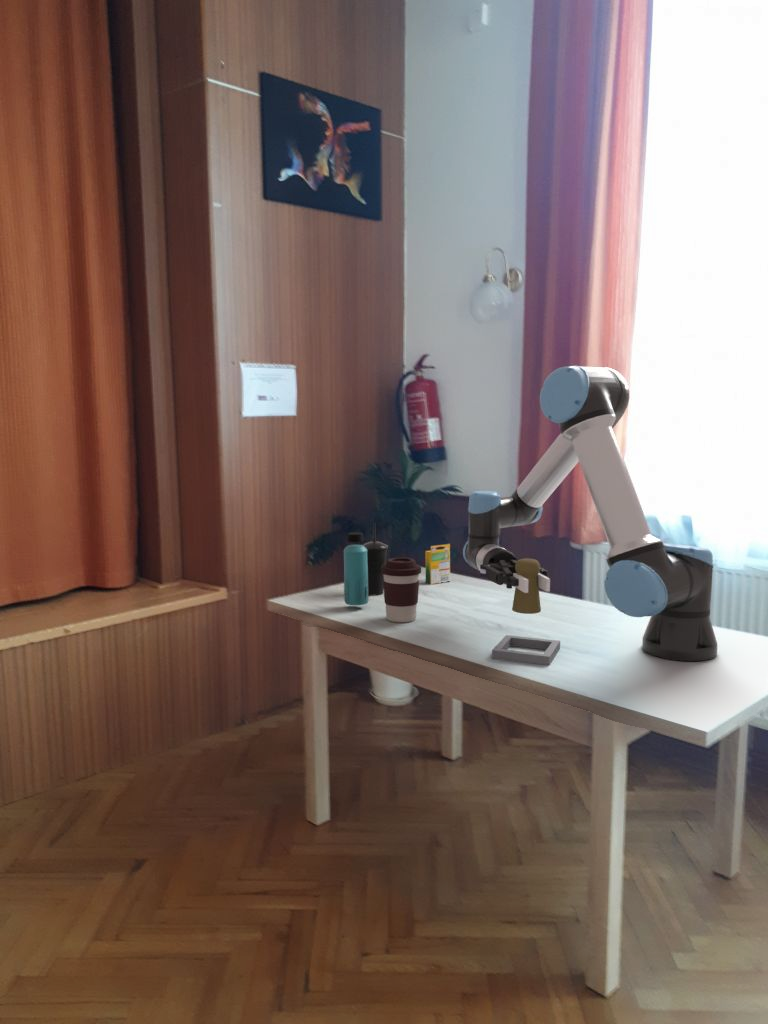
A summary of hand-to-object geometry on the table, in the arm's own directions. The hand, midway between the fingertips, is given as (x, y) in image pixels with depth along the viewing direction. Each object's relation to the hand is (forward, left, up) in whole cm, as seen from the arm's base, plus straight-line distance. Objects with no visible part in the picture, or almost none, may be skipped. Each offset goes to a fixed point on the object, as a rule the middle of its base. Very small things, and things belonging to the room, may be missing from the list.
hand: (537, 585), depth 164 cm
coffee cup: (+38, -20, -16) cm, 46 cm away
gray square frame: (+3, -4, -16) cm, 17 cm away
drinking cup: (+55, -43, -16) cm, 72 cm away
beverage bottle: (+53, -26, -16) cm, 61 cm away
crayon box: (+43, -63, -16) cm, 78 cm away
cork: (+3, -4, -7) cm, 9 cm away
